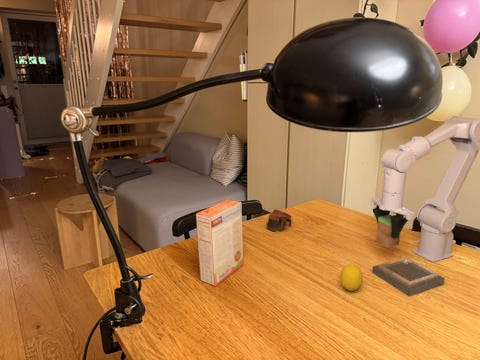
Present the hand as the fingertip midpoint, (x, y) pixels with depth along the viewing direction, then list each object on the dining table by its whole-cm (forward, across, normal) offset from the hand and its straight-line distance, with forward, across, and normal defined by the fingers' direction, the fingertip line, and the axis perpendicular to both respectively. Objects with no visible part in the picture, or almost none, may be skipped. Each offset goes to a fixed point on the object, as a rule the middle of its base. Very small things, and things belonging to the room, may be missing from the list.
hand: (388, 234), depth 103 cm
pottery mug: (+10, -37, -16) cm, 42 cm away
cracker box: (+10, -16, -48) cm, 51 cm away
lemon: (+10, +7, -19) cm, 23 cm away
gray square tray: (+10, +9, -1) cm, 13 cm away
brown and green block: (+3, 0, 0) cm, 3 cm away
